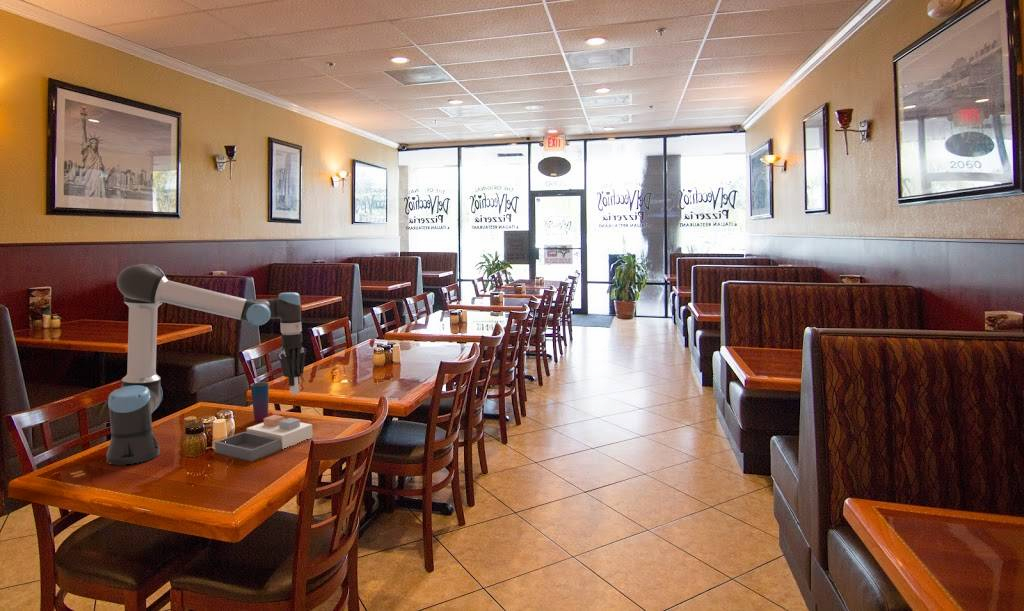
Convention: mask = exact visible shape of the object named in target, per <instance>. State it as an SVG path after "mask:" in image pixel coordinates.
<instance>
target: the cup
mask: <svg viewBox="0 0 1024 611" xmlns="http://www.w3.org/2000/svg"><path fill="white" fill-rule="evenodd" d="M269 387H270V383H269V382H265V381H261V382H260V381H259V382H254V383H253V382H252V383H251V384H250V393H251V401H252V408H253V419H254V422H255V421H264V419H263V418H266V417H269V396H270V395H269V391H270V390H269V389H270V388H269Z"/></svg>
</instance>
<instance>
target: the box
mask: <svg viewBox="0 0 1024 611" xmlns="http://www.w3.org/2000/svg"><path fill="white" fill-rule="evenodd" d="M225 438H226V439H225ZM225 438H223V439H224V440H222V439H220V440H216V441H214V453H215V454H216V453H217V454H218V455H222V456H224V457H229V456H230V458H232V459H233V458H234V459H237V460H240V461H245V460H246V462H249V461H250V463H254V462H256V461H258V459H259V460H261V459H263V458H266V457H268V456H271V455H273V454H275V453H274V452H276V453H278V452H280V451H279V450H281V451H282V449H280V439H275V438H271V437H266V436H262V435H257V434H252V433H248V432H247V431H243V432H240V433H236V434H234V435H231V436H228V437H225ZM225 441H226V443H225ZM277 451H278V452H277ZM272 453H273V454H272ZM270 454H271V455H270ZM265 456H266V457H265ZM260 458H261V459H260ZM255 460H256V461H255ZM253 461H254V462H253Z"/></svg>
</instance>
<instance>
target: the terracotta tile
mask: <svg viewBox="0 0 1024 611" xmlns="http://www.w3.org/2000/svg"><path fill="white" fill-rule="evenodd" d="M263 419H264V425H266V426H271V427H275V426H278V425H279V421H282V420H284V419H285V416H283V415H282V416H281V415H277V414H272V415H268V417H266V418H263Z"/></svg>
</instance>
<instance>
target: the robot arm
mask: <svg viewBox="0 0 1024 611" xmlns="http://www.w3.org/2000/svg"><path fill="white" fill-rule="evenodd" d="M116 286H117V288H118V290H119V292H120V293H121V295H123V303H124V304H125V306H126V305H127V307H128V325H127V326H128V333H127V338H128V339H127V342H128V343H127V365H126V366H127V373H126V375H125V376H124V377H122V378H121V387H120V388H116V389H114V390H113V391H112V392H110V393H109V395H108V397H107V398H108V402H107V405H108V414H109V425H110V426H109V428H110V437H111V438H110V442H109V445H108V449H107V452H106V456H105V457H106V463H107V462H109V463H111V464H116V465H115V466H127V465H126V464H131V465H135V464H134V463H137V464H140V463H139V462H141V463H144V462H143V461H145V462H147V460H148V461H151V460H153V459H155V458H156V457H158V456H159V455H160V454H161V451H160V445H159V443H158V441H157V439H156V437H155V434H154V433H153V426H152V425H153V423H152V414H153V413H154V412H155V411H156V410H157V409H158V407H160V405H161V402H162V401H163V394H164V393H163V388H162V386H161V376H159V375H158V374H157V343H158V341H157V338H158V308H159V307H160V306H161V305H162V304H163V303H165V304H166V303H167V304H169V305H174V306H178V307H183V308H187V309H191V310H196V311H199V312H200V311H201V312H205V313H209V314H212V315H213V314H214V315H218V316H222V317H227V318H232V319H236V320H239V321H244V322H247V323H250V324H251V325H253V326H263V325H265V324H267V323H268V322H269V321H270V319H272V320H273V319H280V320H279V321H280V333H281V335H280V340H281V344H282V348H281V350H282V351H280V353H277V354H276V356H277V358H278V359H279V362H280V363H279V364H280V366H281V370H282V373H283V377H286V378H288V385H289V387H290V388H289V389H290V394H292V395H298V394H300V392H299V389H300V388H299V387H300V386H299V385H300V377H302V374H304V369H305V363H306V362H305V361H306V355H307V352H308V349H307V348H304V347H303V345H302V343H303V333H302V332H303V328H302V327H303V326H302V307H301V306H302V304H301V296H300V294H299V293H298V292H294V291H293V292H291V291H290V292H289V291H288V292H287V291H286V292H280V293H279V294H278V297H277V298H263V299H262V298H261V299H256V298H253V299H246V298H242V297H239V296H234V295H230V294H226V293H222V292H218V291H214V290H210V289H206V288H202V287H198V286H194V285H190V284H186V283H181V282H176V281H173V280H169V279H168V278H167V276H166V274H165V273H164V272H163V270H162V269H161V268H159V266H156V265H153V264H149V263H138V264H135V265H129V266H126V267H125V268H124V269H122V270H121V271H120V273H118V276H117V279H116ZM152 458H153V459H152ZM150 459H151V460H150Z"/></svg>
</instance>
